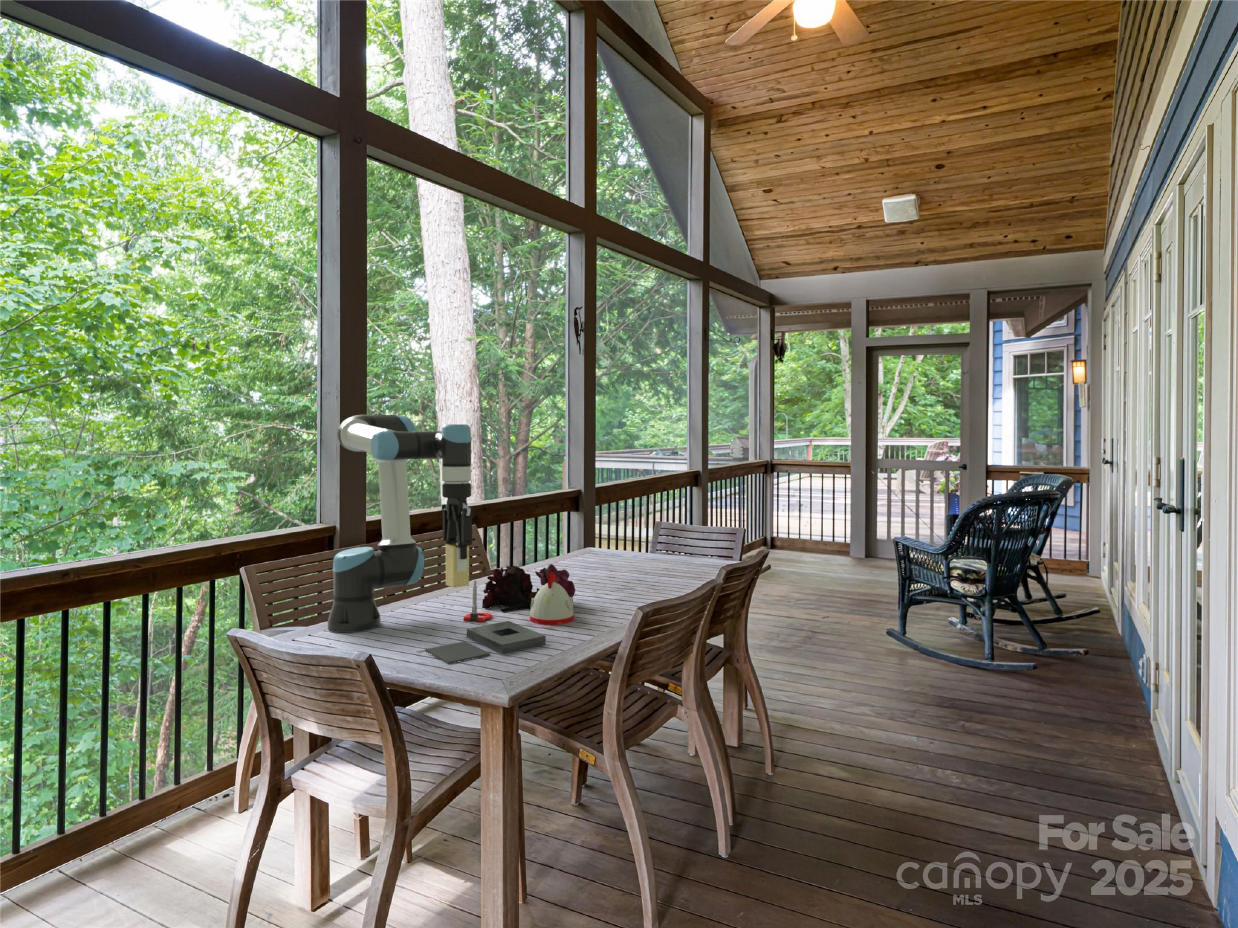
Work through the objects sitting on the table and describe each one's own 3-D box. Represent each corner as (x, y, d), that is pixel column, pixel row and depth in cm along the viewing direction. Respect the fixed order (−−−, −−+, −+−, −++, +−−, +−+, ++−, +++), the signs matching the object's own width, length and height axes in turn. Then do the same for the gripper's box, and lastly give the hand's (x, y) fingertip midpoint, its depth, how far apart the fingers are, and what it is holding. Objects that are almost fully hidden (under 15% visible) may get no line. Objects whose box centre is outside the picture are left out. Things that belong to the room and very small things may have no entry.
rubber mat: (424, 651, 195) (424, 648, 195) (465, 643, 203) (465, 640, 203) (448, 664, 185) (448, 661, 185) (490, 655, 192) (490, 652, 192)
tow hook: (470, 615, 235) (460, 621, 226) (471, 575, 235) (461, 580, 226) (495, 616, 234) (486, 622, 225) (496, 576, 234) (487, 581, 225)
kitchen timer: (524, 624, 224) (524, 575, 223) (536, 613, 237) (536, 567, 237) (568, 626, 222) (569, 577, 221) (577, 614, 235) (577, 569, 235)
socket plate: (466, 637, 209) (466, 628, 209) (508, 629, 218) (508, 620, 217) (501, 653, 193) (501, 644, 193) (545, 644, 202) (545, 635, 202)
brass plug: (445, 584, 193) (445, 543, 193) (461, 582, 196) (460, 542, 196) (453, 587, 190) (453, 546, 189) (468, 585, 193) (468, 544, 192)
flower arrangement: (477, 612, 239) (477, 566, 238) (494, 598, 258) (494, 556, 258) (571, 615, 235) (571, 569, 235) (580, 601, 255) (581, 558, 254)
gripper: (485, 483, 187) (486, 573, 188) (454, 479, 201) (454, 563, 202) (459, 485, 183) (459, 576, 184) (429, 481, 196) (429, 566, 197)
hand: (457, 569), depth 193 cm, fingers closed on brass plug, 4 cm apart
